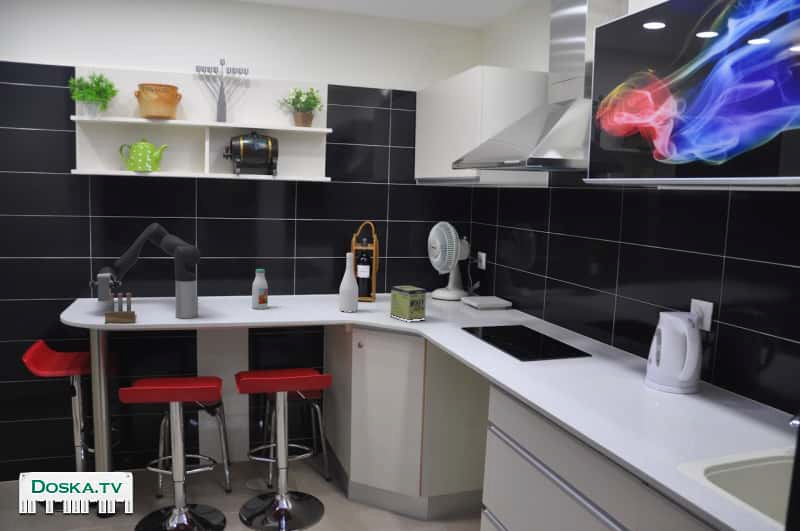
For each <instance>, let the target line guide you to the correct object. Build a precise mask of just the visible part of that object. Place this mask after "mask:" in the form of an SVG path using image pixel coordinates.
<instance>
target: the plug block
mask: <svg viewBox="0 0 800 531" xmlns="http://www.w3.org/2000/svg"><path fill="white" fill-rule="evenodd" d="M96 278H97V280H96V281H98V289H97V303H98V302H99V303H100V302H102V303H103V302H104V303H105V302H109V294H110V293H111V288H109V284H110V274H99V273H98V274H97V275H96Z"/></svg>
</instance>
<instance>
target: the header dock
mask: <svg viewBox="0 0 800 531" xmlns="http://www.w3.org/2000/svg"><path fill="white" fill-rule="evenodd" d="M123 295H124V293H122V292H118V293H117V308H118V310H117V311H115V293H110V294H109V301H108V302H109V311H105V312H104V324H105V325H108V324H107V323H121V324H135V323H136V319H137V314H136V311H134V310H132V293H131V292H125V296H126V311H124V310H123V309H124V308H123V304H124V302H123Z"/></svg>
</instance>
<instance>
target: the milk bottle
mask: <svg viewBox="0 0 800 531" xmlns="http://www.w3.org/2000/svg"><path fill="white" fill-rule="evenodd" d="M265 273H266V271H265V268H257V269H255V278H254V280H253V282H252V287H251V288H252V290H251V307H252V309H255V310H266V309H268V299H269V298H268V296H269V293H268V290H269V287H268V282H267V280H266V276H265Z"/></svg>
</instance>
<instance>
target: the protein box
mask: <svg viewBox="0 0 800 531" xmlns="http://www.w3.org/2000/svg"><path fill="white" fill-rule="evenodd" d="M390 292H391V294H390V296H391V297H390V313H389V314H390V315H393V316H396V317H399V318H403V319H407V320H413V319H422V318H425V319H426V306H427V305H426V304H427V303H426V302H427V301H426V300H427V289H426V288H421V287H416V286H413V285H394V286H392V285H391V291H390Z"/></svg>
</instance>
